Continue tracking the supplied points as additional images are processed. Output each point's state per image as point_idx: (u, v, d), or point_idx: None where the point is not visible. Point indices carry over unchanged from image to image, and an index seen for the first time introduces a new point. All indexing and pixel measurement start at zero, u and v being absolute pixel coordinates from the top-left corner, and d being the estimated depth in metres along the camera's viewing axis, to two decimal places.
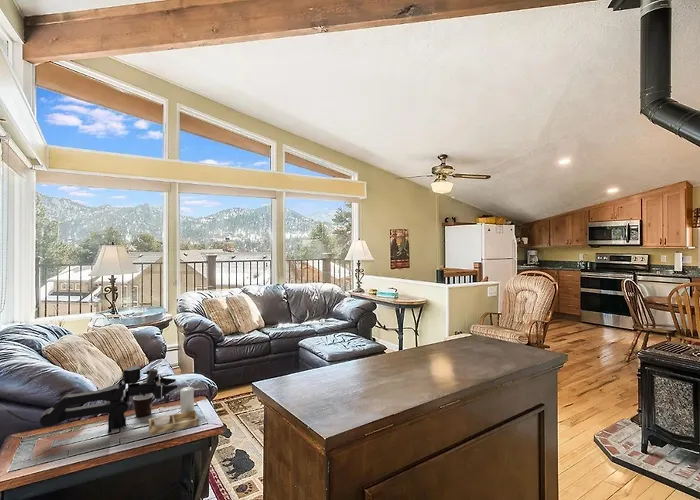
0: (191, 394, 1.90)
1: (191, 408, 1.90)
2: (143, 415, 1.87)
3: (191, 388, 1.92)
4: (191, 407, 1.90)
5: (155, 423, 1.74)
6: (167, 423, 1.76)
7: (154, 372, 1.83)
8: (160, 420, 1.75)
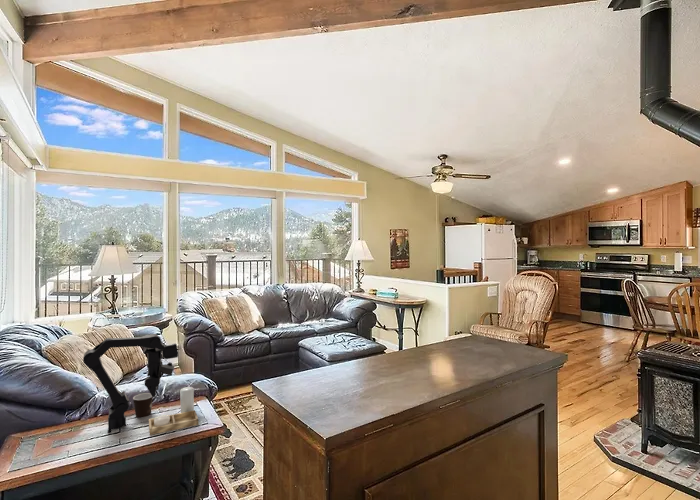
0: (191, 394, 1.90)
1: (191, 408, 1.90)
2: (143, 415, 1.87)
3: (191, 388, 1.92)
4: (191, 407, 1.90)
5: (155, 423, 1.74)
6: (167, 423, 1.76)
7: (171, 372, 1.86)
8: (160, 420, 1.75)
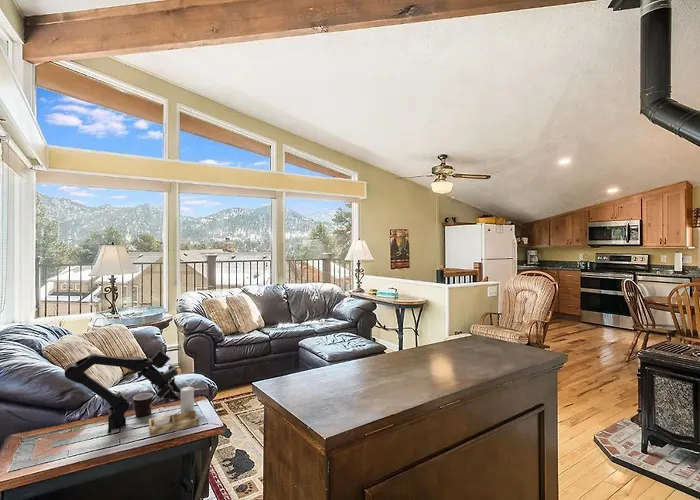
0: (191, 394, 1.90)
1: (191, 408, 1.90)
2: (143, 415, 1.87)
3: (191, 388, 1.92)
4: (191, 407, 1.90)
5: (155, 423, 1.74)
6: (167, 423, 1.76)
7: (175, 372, 1.87)
8: (160, 420, 1.75)
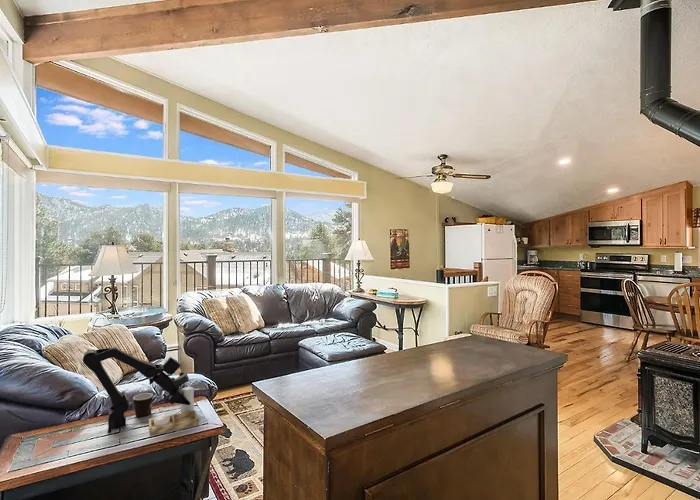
0: (191, 394, 1.90)
1: (191, 408, 1.90)
2: (143, 415, 1.87)
3: (191, 388, 1.92)
4: (191, 407, 1.90)
5: (155, 423, 1.74)
6: (167, 423, 1.76)
7: (186, 379, 1.89)
8: (160, 420, 1.75)
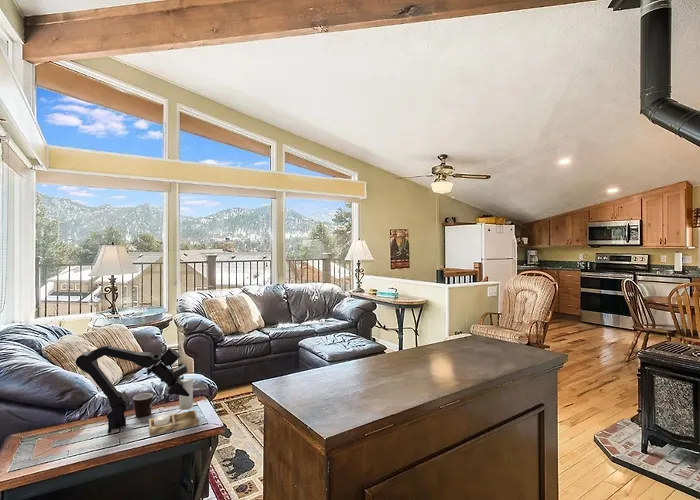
0: (190, 385, 1.86)
1: (190, 399, 1.86)
2: (143, 415, 1.87)
3: (190, 379, 1.88)
4: (190, 399, 1.86)
5: (155, 423, 1.74)
6: (167, 423, 1.76)
7: (185, 370, 1.85)
8: (160, 420, 1.75)
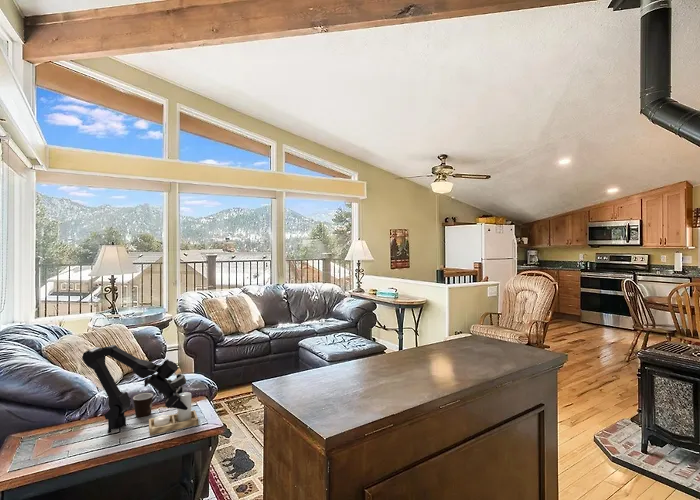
0: (189, 400, 1.80)
1: (189, 414, 1.80)
2: (143, 415, 1.87)
3: (189, 393, 1.82)
4: (189, 414, 1.80)
5: (155, 423, 1.74)
6: (167, 423, 1.76)
7: (183, 381, 1.79)
8: (160, 420, 1.75)
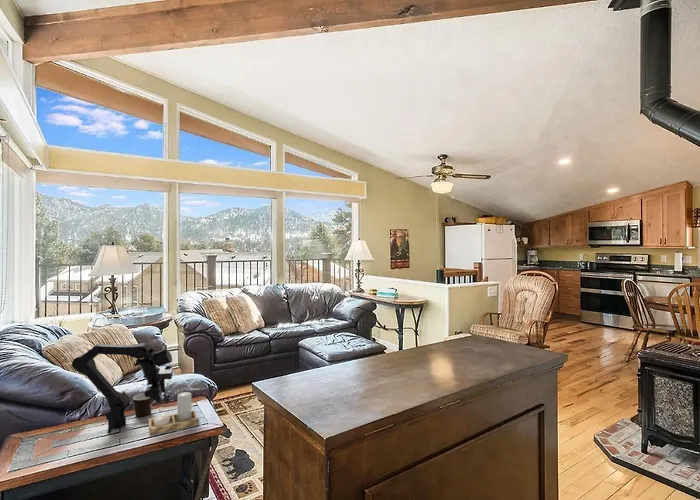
0: (189, 400, 1.80)
1: (189, 414, 1.80)
2: (143, 415, 1.87)
3: (189, 393, 1.82)
4: (189, 414, 1.80)
5: (155, 423, 1.74)
6: (167, 423, 1.76)
7: (170, 376, 1.81)
8: (160, 420, 1.75)
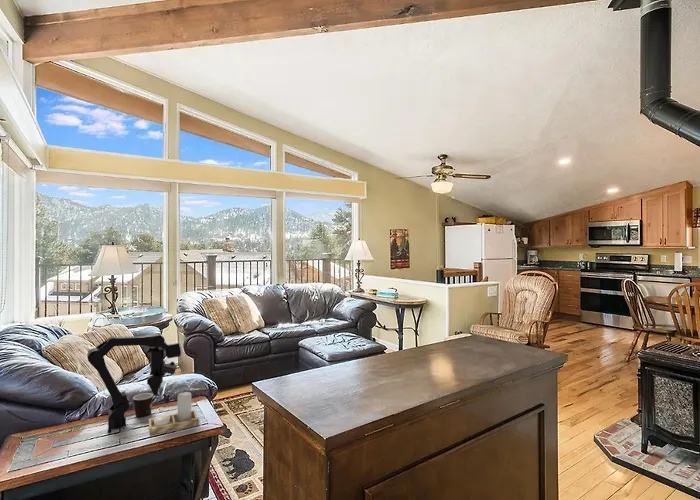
0: (189, 400, 1.80)
1: (189, 414, 1.80)
2: (143, 415, 1.87)
3: (189, 393, 1.83)
4: (189, 414, 1.80)
5: (155, 423, 1.74)
6: (167, 423, 1.76)
7: (173, 371, 1.88)
8: (160, 420, 1.75)
